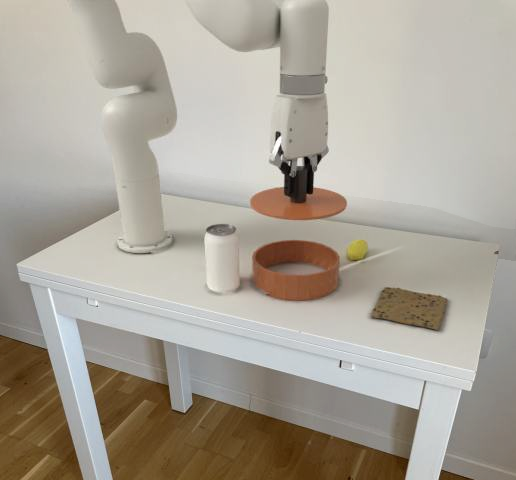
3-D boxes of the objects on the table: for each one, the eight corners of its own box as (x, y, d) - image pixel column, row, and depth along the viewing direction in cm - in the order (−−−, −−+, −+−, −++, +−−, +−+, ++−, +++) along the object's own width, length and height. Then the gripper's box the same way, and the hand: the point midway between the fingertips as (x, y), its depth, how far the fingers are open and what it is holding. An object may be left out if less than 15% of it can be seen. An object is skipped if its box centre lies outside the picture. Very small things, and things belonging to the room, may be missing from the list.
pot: (235, 277, 111) (235, 253, 108) (299, 255, 119) (300, 233, 117) (290, 309, 99) (290, 284, 96) (355, 283, 108) (358, 259, 105)
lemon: (371, 253, 121) (373, 236, 118) (360, 266, 115) (361, 249, 113) (353, 249, 122) (354, 233, 120) (341, 262, 116) (342, 246, 114)
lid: (231, 204, 102) (229, 166, 99) (302, 186, 112) (303, 150, 108) (293, 231, 90) (294, 189, 87) (366, 208, 100) (371, 170, 96)
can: (227, 297, 103) (225, 238, 97) (200, 289, 106) (196, 231, 100) (246, 284, 108) (245, 227, 101) (219, 276, 111) (217, 220, 104)
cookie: (439, 331, 93) (440, 326, 92) (370, 317, 97) (370, 312, 96) (447, 300, 102) (448, 295, 101) (384, 288, 106) (384, 284, 105)
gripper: (322, 79, 96) (317, 182, 106) (249, 87, 88) (251, 198, 98) (353, 83, 91) (344, 191, 101) (278, 93, 83) (277, 209, 93)
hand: (298, 193), depth 100 cm, fingers closed on lid, 3 cm apart
